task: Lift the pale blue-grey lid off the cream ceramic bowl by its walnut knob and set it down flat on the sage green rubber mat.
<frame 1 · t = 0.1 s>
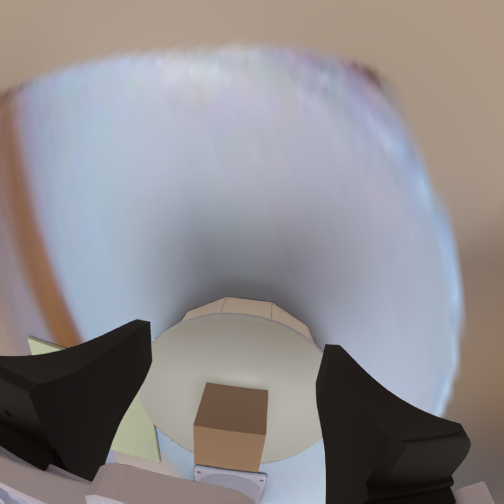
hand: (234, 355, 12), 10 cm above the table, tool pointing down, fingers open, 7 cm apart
mat: (94, 405, 27), on the table
cover: (236, 400, 20), point 4 cm above the table, touching bowl
bowl: (241, 367, 24), on the table
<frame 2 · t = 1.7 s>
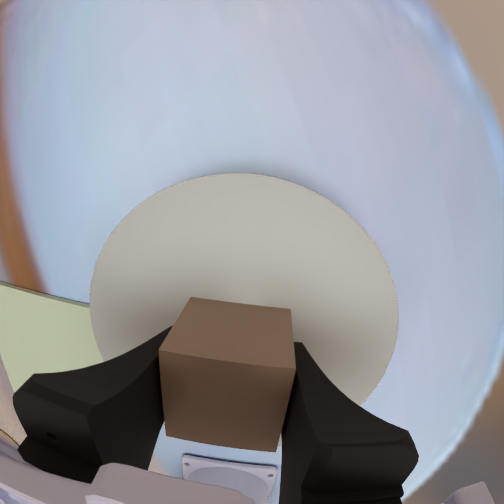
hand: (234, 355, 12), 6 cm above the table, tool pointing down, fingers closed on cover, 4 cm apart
mat: (55, 369, 21), on the table
cover: (238, 336, 14), point 4 cm above the table, touching bowl, gripper
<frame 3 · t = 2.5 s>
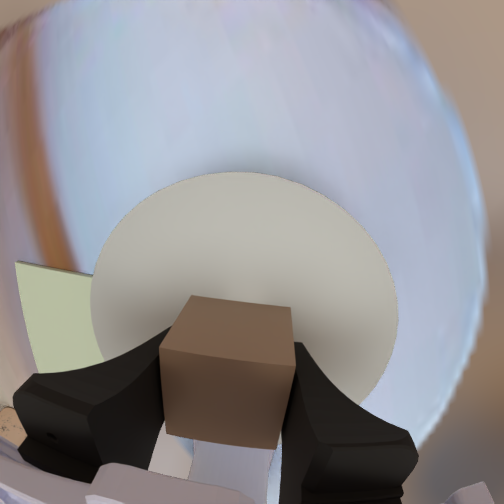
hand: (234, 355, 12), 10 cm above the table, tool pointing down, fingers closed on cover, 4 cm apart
mat: (81, 342, 25), on the table
cover: (238, 334, 14), point 9 cm above the table, touching gripper
teacup with lid: (29, 427, 31), on the table
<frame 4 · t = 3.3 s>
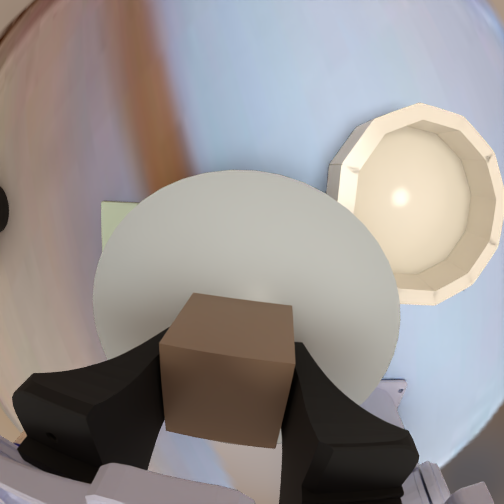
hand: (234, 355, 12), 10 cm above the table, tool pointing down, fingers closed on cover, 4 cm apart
mat: (189, 300, 23), on the table
cover: (240, 332, 14), point 9 cm above the table, touching gripper
bowl: (408, 200, 20), on the table
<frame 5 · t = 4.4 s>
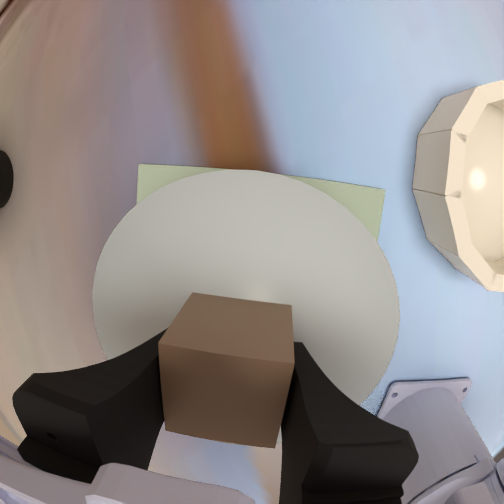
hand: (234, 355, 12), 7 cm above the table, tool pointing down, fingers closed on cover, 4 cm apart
mat: (248, 291, 19), on the table
cover: (239, 332, 14), point 5 cm above the table, touching gripper
bowl: (489, 182, 16), on the table
when the fingers open (4 cm above the table, at t = 5.4 s): cover drops 1 cm, resting on mat.
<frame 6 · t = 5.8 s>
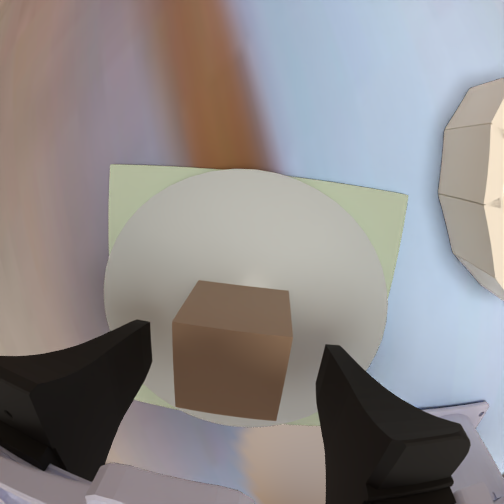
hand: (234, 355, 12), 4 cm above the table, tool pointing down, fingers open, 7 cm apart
mat: (242, 315, 16), on the table
cover: (241, 317, 15), resting on mat
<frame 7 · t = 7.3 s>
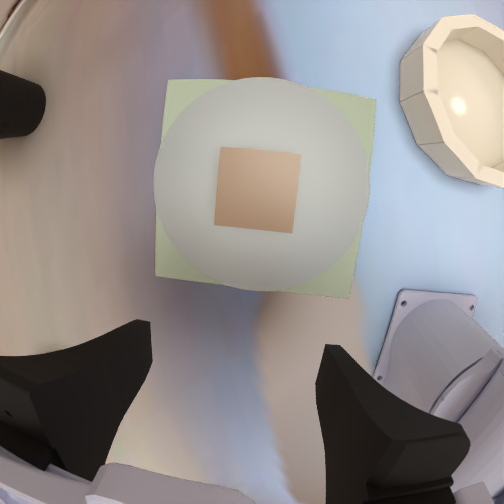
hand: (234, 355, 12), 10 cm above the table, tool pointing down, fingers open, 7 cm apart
mat: (261, 186, 21), on the table
cover: (260, 184, 20), resting on mat
bowl: (468, 103, 17), on the table
drinking cup: (28, 109, 20), on the table
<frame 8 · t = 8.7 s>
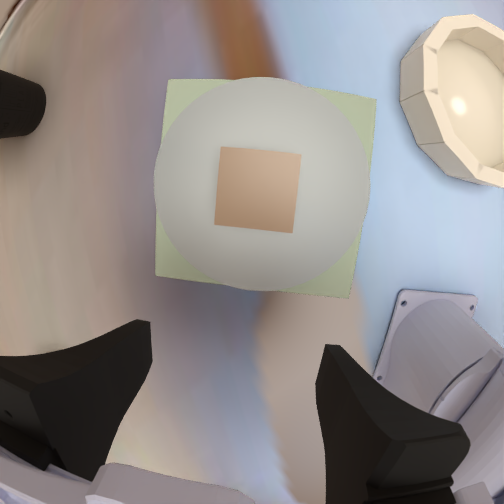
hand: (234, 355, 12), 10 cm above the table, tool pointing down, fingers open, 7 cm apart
mat: (261, 186, 21), on the table
cover: (261, 184, 20), resting on mat
bowl: (468, 103, 17), on the table
drinking cup: (28, 109, 20), on the table
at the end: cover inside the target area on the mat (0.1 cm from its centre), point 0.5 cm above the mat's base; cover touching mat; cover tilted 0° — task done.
